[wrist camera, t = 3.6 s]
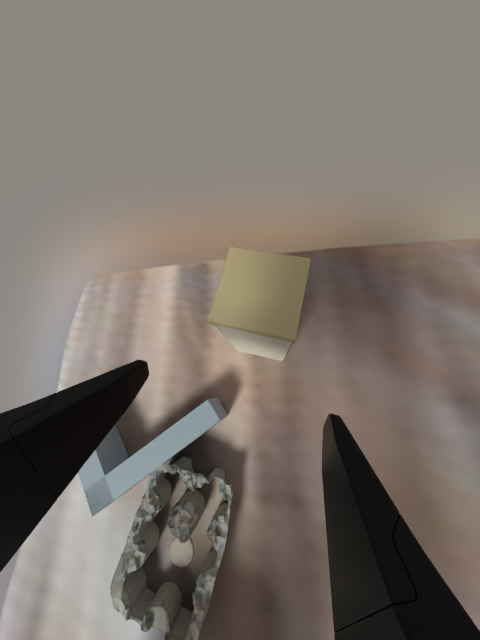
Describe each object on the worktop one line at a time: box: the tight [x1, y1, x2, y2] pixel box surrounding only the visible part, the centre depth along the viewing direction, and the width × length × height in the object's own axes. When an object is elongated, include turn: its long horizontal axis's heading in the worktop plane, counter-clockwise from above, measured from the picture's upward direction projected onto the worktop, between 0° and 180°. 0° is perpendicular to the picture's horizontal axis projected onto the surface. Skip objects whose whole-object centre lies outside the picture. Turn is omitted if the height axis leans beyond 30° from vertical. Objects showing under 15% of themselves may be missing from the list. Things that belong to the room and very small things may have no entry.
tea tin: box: [207, 247, 311, 361], centre depth 18 cm, size 5×5×11 cm
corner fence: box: [78, 398, 228, 517], centre depth 20 cm, size 10×12×4 cm
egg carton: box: [111, 456, 233, 640], centre depth 17 cm, size 11×8×4 cm
